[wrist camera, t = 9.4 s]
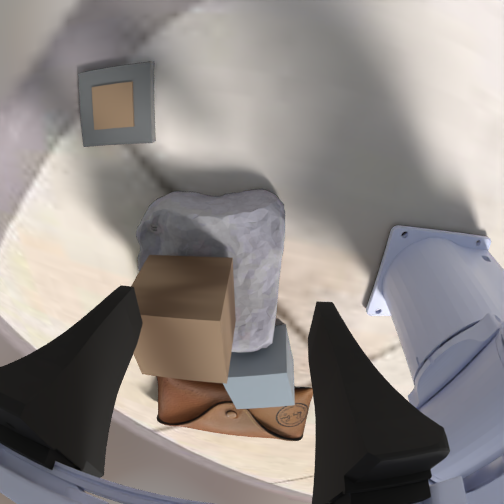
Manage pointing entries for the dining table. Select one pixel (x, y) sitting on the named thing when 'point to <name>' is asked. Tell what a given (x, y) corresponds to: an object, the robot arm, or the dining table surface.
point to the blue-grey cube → (263, 375)
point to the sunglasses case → (228, 411)
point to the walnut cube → (186, 317)
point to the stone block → (226, 249)
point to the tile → (117, 105)
